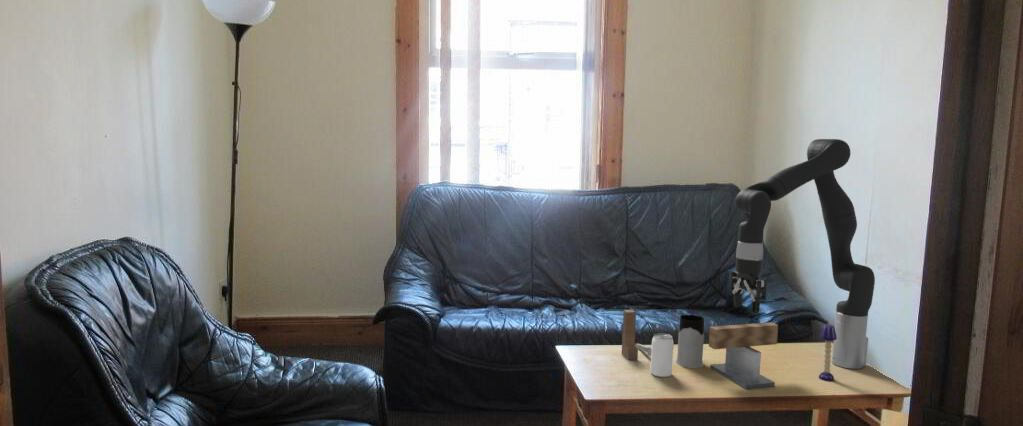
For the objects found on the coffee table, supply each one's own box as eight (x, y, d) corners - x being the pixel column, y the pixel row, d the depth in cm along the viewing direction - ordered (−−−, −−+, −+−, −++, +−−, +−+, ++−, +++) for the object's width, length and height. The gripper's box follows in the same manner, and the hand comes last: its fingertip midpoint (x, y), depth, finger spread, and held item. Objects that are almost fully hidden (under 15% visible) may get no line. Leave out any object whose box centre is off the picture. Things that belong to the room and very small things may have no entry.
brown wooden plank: (714, 349, 201) (715, 329, 200) (708, 346, 203) (709, 326, 203) (776, 344, 207) (778, 325, 206) (770, 341, 210) (771, 322, 209)
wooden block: (621, 353, 226) (623, 309, 224) (630, 353, 226) (632, 309, 224) (628, 360, 219) (630, 315, 217) (637, 359, 220) (640, 314, 218)
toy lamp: (826, 382, 204) (830, 328, 202) (813, 377, 208) (817, 324, 206) (837, 379, 206) (841, 326, 204) (823, 374, 210) (828, 322, 208)
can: (673, 372, 209) (675, 334, 207) (669, 379, 203) (671, 340, 202) (652, 369, 211) (654, 331, 210) (647, 375, 206) (650, 337, 204)
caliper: (657, 366, 215) (658, 347, 214) (653, 366, 215) (654, 347, 214) (637, 346, 235) (638, 328, 234) (634, 346, 235) (635, 328, 234)
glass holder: (673, 365, 216) (676, 319, 214) (680, 352, 229) (682, 309, 227) (701, 369, 212) (704, 322, 211) (707, 356, 225) (709, 312, 224)
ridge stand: (737, 365, 216) (739, 335, 215) (774, 386, 199) (777, 353, 198) (710, 368, 213) (712, 337, 212) (745, 389, 196) (748, 355, 195)
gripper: (724, 252, 208) (721, 304, 210) (753, 261, 194) (750, 316, 196) (745, 252, 210) (741, 303, 212) (775, 260, 196) (771, 315, 198)
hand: (745, 309), depth 204 cm, fingers open, 8 cm apart
